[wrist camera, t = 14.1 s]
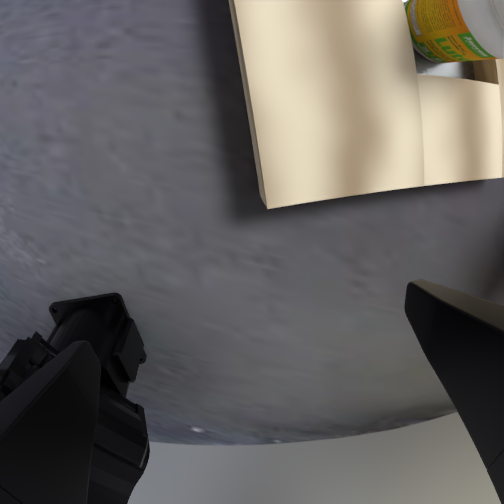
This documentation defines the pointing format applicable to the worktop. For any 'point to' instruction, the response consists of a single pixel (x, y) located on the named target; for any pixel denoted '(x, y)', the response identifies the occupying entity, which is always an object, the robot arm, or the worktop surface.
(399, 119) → the socket board
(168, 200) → the worktop surface
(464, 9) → the supplement bottle
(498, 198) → the worktop surface
